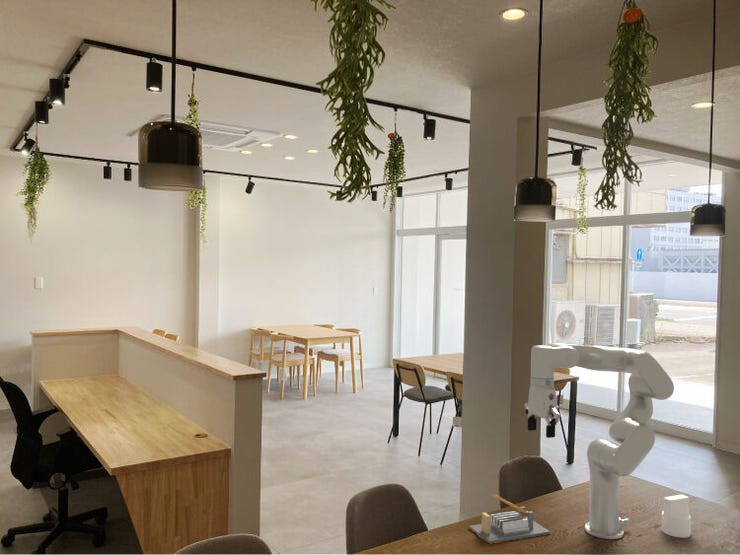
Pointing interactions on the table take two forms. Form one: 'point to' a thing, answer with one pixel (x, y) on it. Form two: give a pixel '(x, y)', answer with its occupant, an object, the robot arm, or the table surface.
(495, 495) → the strap
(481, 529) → the cpu board
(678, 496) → the white tapered canister
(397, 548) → the table surface
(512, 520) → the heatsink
